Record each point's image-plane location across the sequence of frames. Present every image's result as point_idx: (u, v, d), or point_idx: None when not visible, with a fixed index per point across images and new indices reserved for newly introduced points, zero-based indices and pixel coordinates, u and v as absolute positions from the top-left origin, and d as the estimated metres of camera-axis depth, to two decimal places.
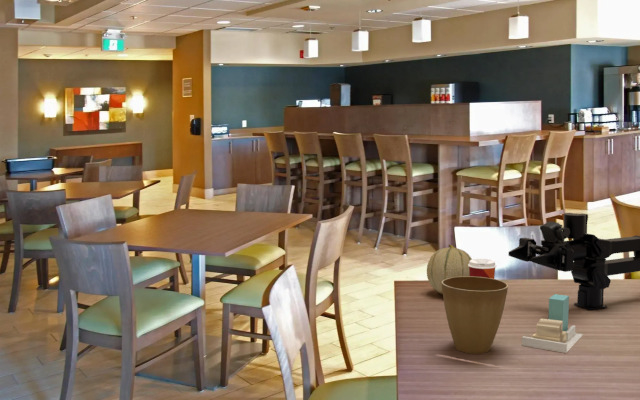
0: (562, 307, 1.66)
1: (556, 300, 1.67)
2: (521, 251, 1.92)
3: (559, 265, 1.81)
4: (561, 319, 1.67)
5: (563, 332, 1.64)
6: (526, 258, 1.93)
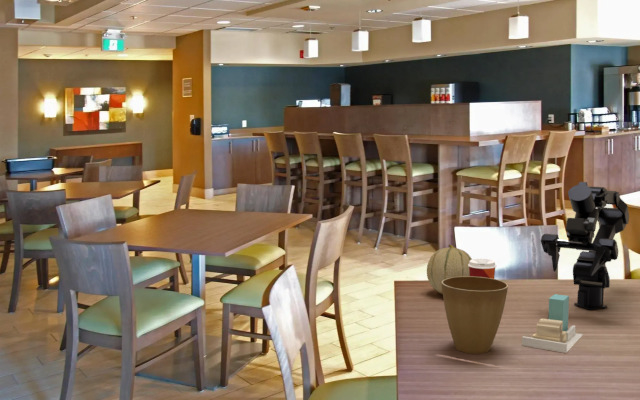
0: (562, 307, 1.66)
1: (556, 300, 1.67)
2: (556, 256, 1.84)
3: (609, 258, 1.80)
4: (561, 319, 1.67)
5: (563, 332, 1.64)
6: (558, 254, 1.87)
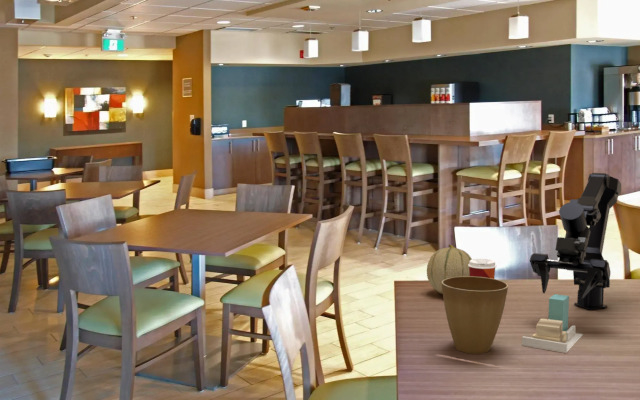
0: (562, 307, 1.66)
1: (556, 300, 1.67)
2: (546, 277, 1.76)
3: (600, 280, 1.72)
4: (561, 319, 1.67)
5: (563, 332, 1.64)
6: (548, 275, 1.79)
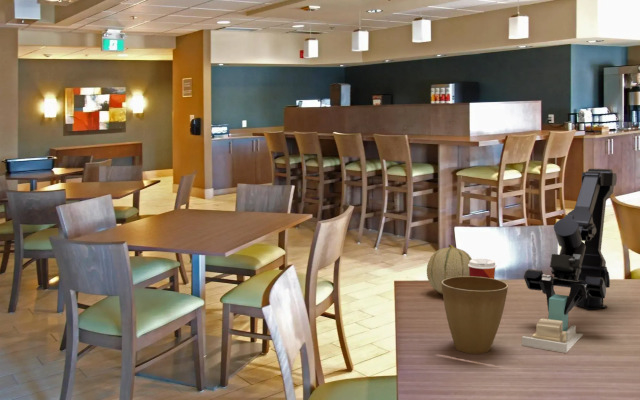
0: (562, 307, 1.66)
1: (556, 300, 1.67)
2: (552, 295, 1.72)
3: (584, 296, 1.70)
4: (561, 319, 1.67)
5: (563, 332, 1.64)
6: (554, 293, 1.74)
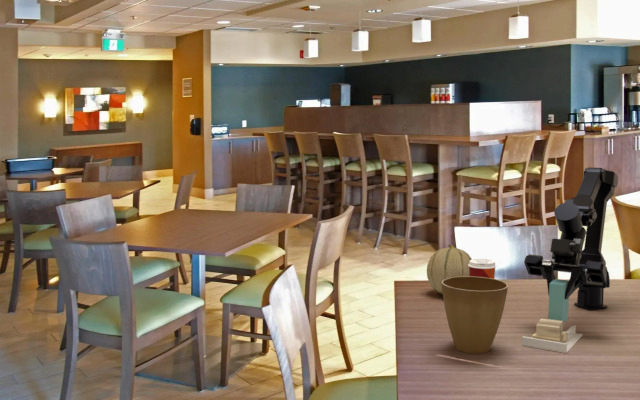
0: (562, 291, 1.66)
1: (556, 285, 1.67)
2: (552, 280, 1.71)
3: (585, 281, 1.69)
4: (561, 304, 1.66)
5: (563, 332, 1.64)
6: (554, 278, 1.74)
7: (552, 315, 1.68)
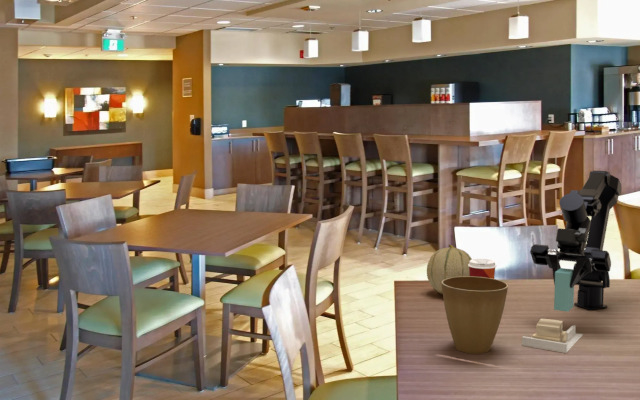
0: (568, 280, 1.70)
1: (562, 273, 1.70)
2: (558, 269, 1.75)
3: (589, 269, 1.73)
4: (567, 292, 1.70)
5: (563, 332, 1.64)
6: (560, 267, 1.77)
7: (558, 303, 1.72)
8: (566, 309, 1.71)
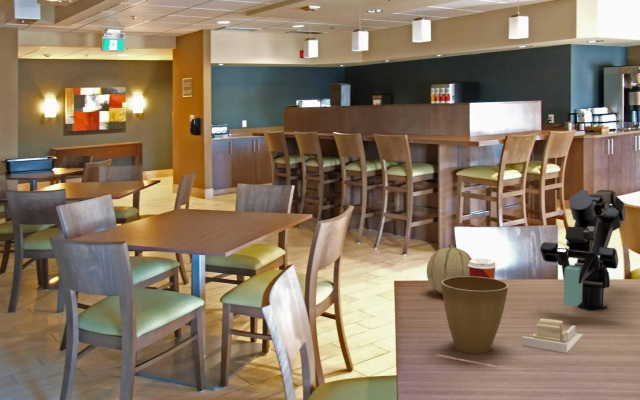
0: (577, 276, 1.77)
1: (571, 269, 1.77)
2: None
3: (597, 266, 1.80)
4: (576, 287, 1.77)
5: (563, 332, 1.64)
6: (569, 264, 1.84)
7: (567, 299, 1.78)
8: (575, 304, 1.77)
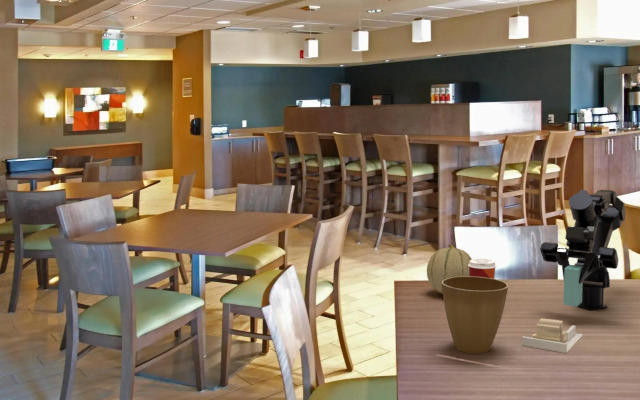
0: (577, 276, 1.77)
1: (571, 269, 1.77)
2: None
3: (597, 266, 1.80)
4: (576, 287, 1.77)
5: (563, 332, 1.64)
6: (569, 264, 1.84)
7: (567, 299, 1.78)
8: (575, 304, 1.77)
